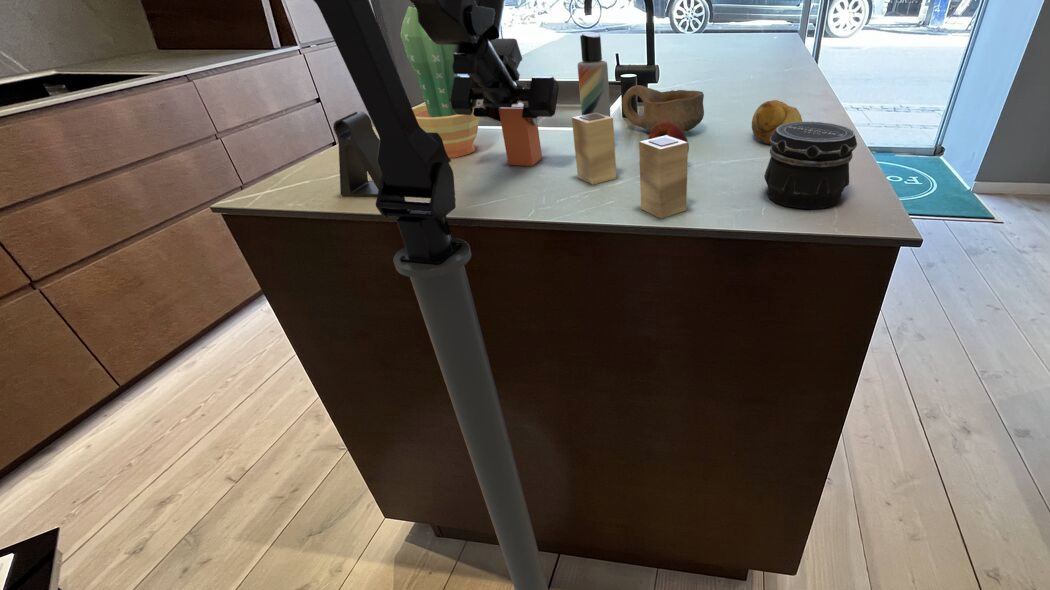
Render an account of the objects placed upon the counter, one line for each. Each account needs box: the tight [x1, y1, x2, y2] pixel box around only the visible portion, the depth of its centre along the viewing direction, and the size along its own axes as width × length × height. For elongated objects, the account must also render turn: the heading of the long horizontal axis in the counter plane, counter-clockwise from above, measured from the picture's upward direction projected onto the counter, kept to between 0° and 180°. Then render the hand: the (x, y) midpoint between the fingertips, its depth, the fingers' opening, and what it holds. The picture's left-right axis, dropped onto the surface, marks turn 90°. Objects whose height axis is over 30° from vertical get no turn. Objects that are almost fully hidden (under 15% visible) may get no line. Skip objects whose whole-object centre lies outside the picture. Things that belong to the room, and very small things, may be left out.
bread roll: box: [751, 99, 803, 145], centre depth 107 cm, size 13×10×8 cm
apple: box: [647, 122, 690, 152], centre depth 94 cm, size 7×8×8 cm
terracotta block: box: [498, 101, 543, 167], centre depth 99 cm, size 5×5×10 cm
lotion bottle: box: [577, 31, 611, 117], centre depth 103 cm, size 6×6×20 cm
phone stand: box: [333, 111, 382, 197], centre depth 88 cm, size 9×6×12 cm, turn 84°
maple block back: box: [571, 113, 617, 186], centre depth 90 cm, size 5×5×10 cm
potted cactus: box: [399, 5, 481, 159], centre depth 101 cm, size 15×15×25 cm
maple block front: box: [638, 135, 689, 220], centre depth 78 cm, size 5×5×10 cm
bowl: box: [621, 84, 705, 133], centre depth 113 cm, size 18×14×10 cm
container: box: [763, 121, 858, 210], centre depth 80 cm, size 13×13×10 cm
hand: (522, 123), depth 99 cm, fingers closed on terracotta block, 5 cm apart
